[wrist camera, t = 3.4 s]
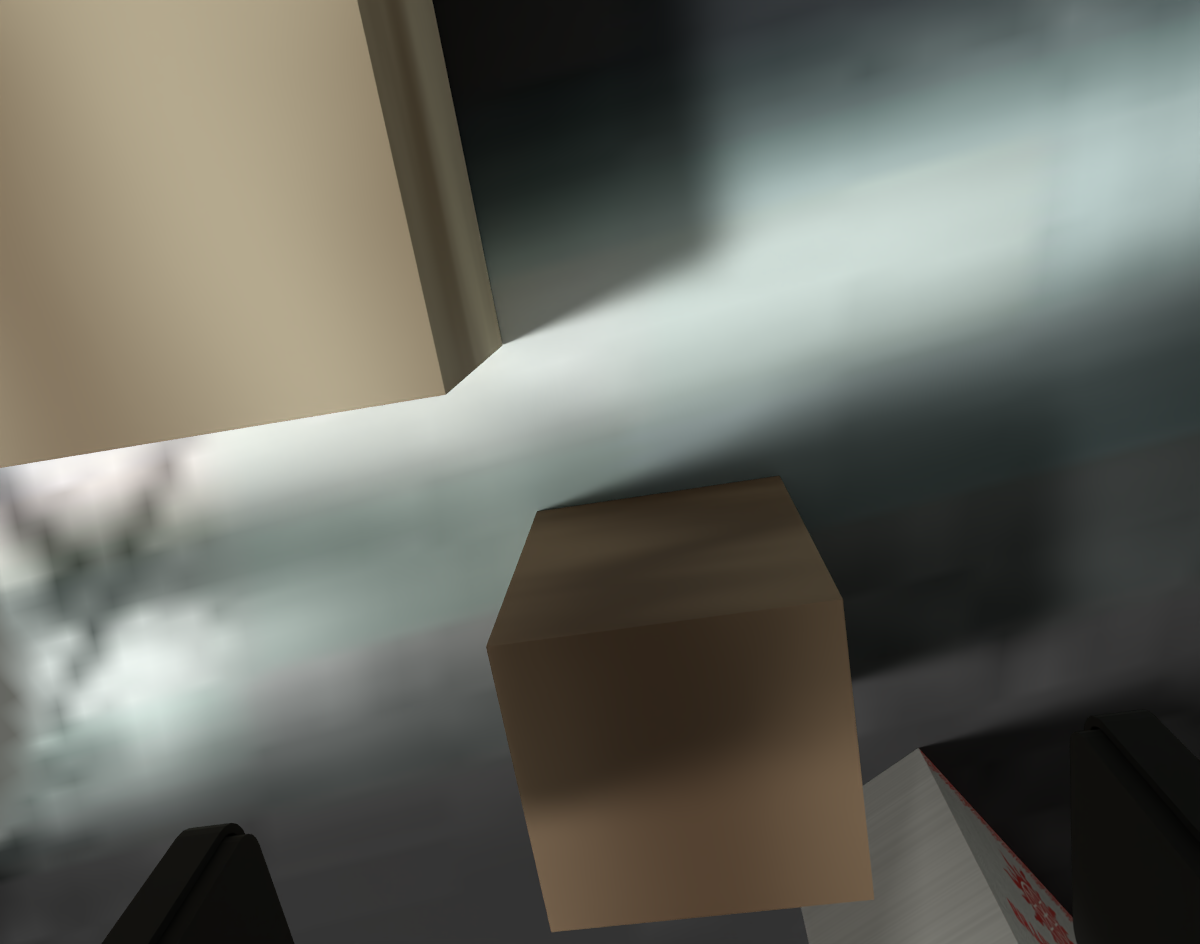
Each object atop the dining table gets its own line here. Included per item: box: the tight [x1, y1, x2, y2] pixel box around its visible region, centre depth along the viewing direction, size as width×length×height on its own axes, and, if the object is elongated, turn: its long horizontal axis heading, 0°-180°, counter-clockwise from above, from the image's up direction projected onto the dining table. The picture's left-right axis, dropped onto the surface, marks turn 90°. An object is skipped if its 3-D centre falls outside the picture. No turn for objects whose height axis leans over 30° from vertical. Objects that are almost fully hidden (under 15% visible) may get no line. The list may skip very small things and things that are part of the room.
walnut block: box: [486, 476, 874, 932], centre depth 16 cm, size 5×5×6 cm
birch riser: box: [0, 0, 502, 468], centre depth 14 cm, size 11×8×5 cm
